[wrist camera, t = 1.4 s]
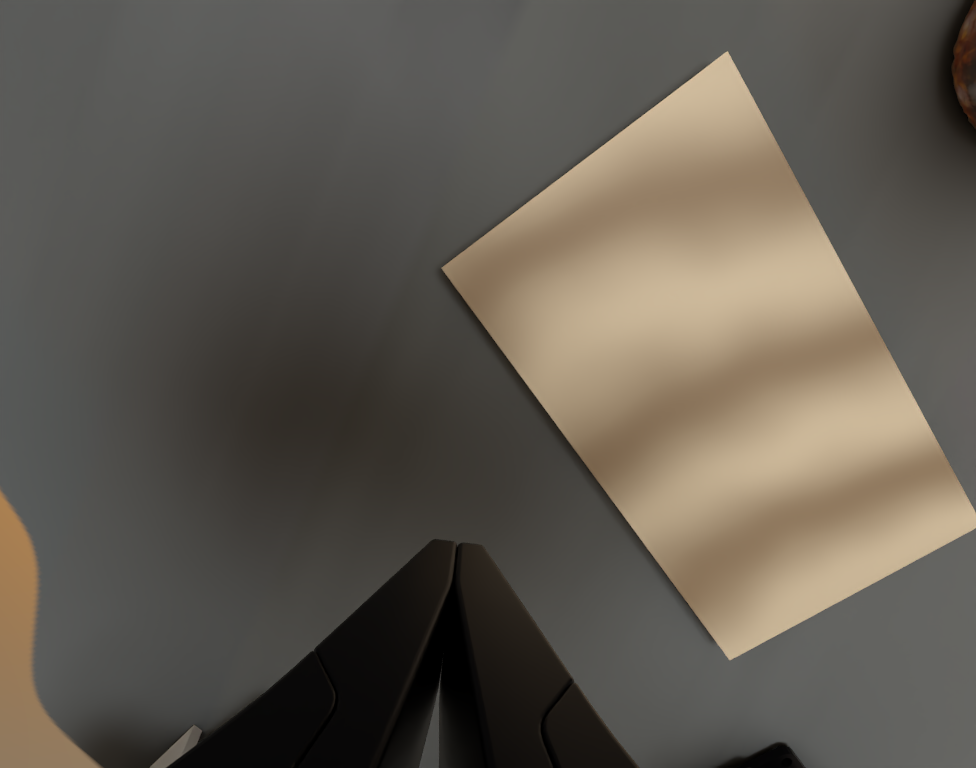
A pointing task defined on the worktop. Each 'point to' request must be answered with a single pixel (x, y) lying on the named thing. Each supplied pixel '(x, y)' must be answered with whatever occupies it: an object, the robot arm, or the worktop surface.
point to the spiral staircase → (179, 748)
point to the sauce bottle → (966, 65)
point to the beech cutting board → (717, 366)
